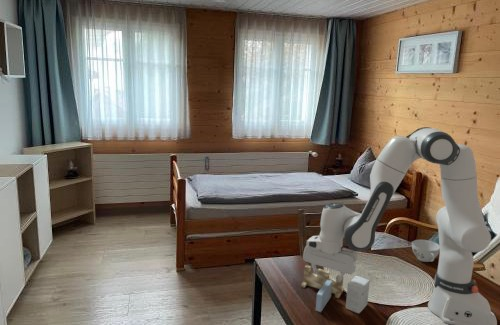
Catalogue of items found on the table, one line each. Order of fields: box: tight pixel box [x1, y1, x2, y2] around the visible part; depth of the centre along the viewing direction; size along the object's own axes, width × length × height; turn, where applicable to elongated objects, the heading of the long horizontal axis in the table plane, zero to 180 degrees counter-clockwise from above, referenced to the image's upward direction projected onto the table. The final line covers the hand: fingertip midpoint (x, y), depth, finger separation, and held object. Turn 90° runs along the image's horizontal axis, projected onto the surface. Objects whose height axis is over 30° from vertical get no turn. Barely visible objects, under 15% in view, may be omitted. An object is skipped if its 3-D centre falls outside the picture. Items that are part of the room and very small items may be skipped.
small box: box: [345, 275, 371, 314], centre depth 142 cm, size 8×6×10 cm
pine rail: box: [300, 264, 345, 299], centre depth 154 cm, size 16×7×8 cm, turn 60°
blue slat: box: [315, 280, 332, 313], centre depth 144 cm, size 12×2×7 cm, turn 150°
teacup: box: [411, 239, 440, 263], centre depth 181 cm, size 15×12×8 cm
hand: (327, 277), depth 146 cm, fingers open, 8 cm apart
